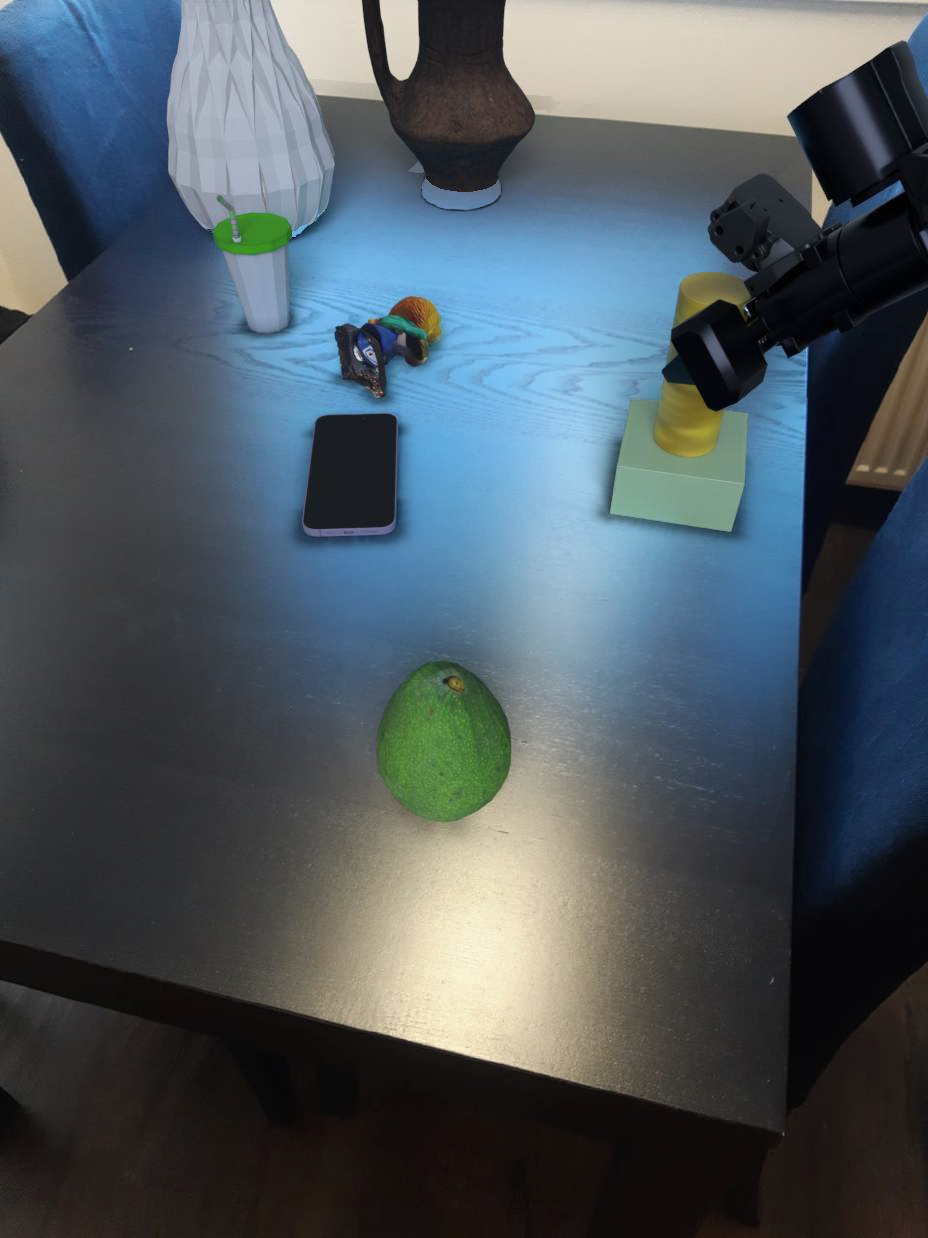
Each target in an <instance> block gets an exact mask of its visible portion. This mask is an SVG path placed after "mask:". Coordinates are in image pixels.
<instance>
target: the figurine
mask: <svg viewBox="0 0 928 1238" xmlns="http://www.w3.org/2000/svg"><path fill="white" fill-rule="evenodd" d="M441 322H442V318H441V314H440V313H439V311H438V310H437V307H436V305H435V304H434V303H433V302H432V301H431V300H429V299H427V298H425V297H423V296H413V295H412V296H411V295H410V296H406V297H404V298H402V299H400V300H399V301H397V303H395V305H394V306H392V307H391V309H390V310H389V313H388V315H386V316H382V317H377V318H374V317H373V318H372V317H371V318H368V321H367V322H365V323H364V324H362V325H361V327H357V326H356V325H353V324H351V323H344V324H341V325H337V326H335V327H334V329H335V331H334V333H333V334H334V340H335V342H336V347H337V355H338V356H339V364H340V371H341V375H342V376H343V378H342V381H344V380H348V381H349V380H350V381H355V382H357V383H358V384H359V385H360V386H362V387H364V388H365V389H367V390H369V391H370V392H372V394H373V396H374V397H375V398H376V399H381V398H384V397H385V396H386V392H385V387H386V385H387V374H386V373H387V372H386V366H388V365H390V364H391V362H392V360H394V358H395V357H396V356H397V357H398V356H399V357H400V356H403V358H404V361H405V362H406V364H407V365H409V366H410V367H413V368H414V367H419V366H421V365H424V364H425V363H426V362H427V361H428V359H429V350H430V349H429V347H432V346H433V344H437V343H438V342H439V341H440V340H441V339H442V337H443V331H442V328H441Z"/></svg>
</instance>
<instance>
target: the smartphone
mask: <svg viewBox="0 0 928 1238" xmlns="http://www.w3.org/2000/svg"><path fill="white" fill-rule="evenodd" d="M313 424H314V425H313V431H312V440H311V447H310V456H309V462H308V471H307V480H306V486H305V487H306V488H305V494H304V501H303V502H304V503H303V511H302V516H301V517H302V518H301V523H302V530H303V532H304V533H305V534H306V535H308V536H310V537H314V538H315V537H324V538H325V537H352V536H357V537H358V536H382V535H388V534H390V533H392V532H393V531H394V530H395V529H396V527H397V515H398V513H397V512H398V511H397V509H398V469H399V467H398V463H399V461H398V460H399V419H398V417H397V416H396V415H395V414H393V413H389V412H378V413H376V412H374V413H341V414H340V413H338V414H337V413H336V414H324V415H320V416H319V417H317V418H316V419H315V421H314V423H313Z"/></svg>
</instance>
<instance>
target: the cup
mask: <svg viewBox="0 0 928 1238" xmlns="http://www.w3.org/2000/svg"><path fill="white" fill-rule="evenodd" d="M217 201H218V202H219V203H221V204H222V205H223V206H224V207H225V208H227V209H228V211H229V214H230V218H228V219H225V220H223V221H221V222H219V223H218V224H217V226H216V227H215V228H214V230H213V231H212V232H211V233H212V237H213V241H214V243H215V245H216V246H217V248H218V249H219V250H221V252H222V255H223V258H224V262H225V263H226V267H227V270H228V273H229V275H230V278H231V282H232V284H233V287H234V289H235V293H236V295H237V298H238V301H239V303H240V307H241V310H242V313H243V315H245V316H244V319H245V322H246V324H247V326H248V329H249V330H250V331H252V332H254V333H257V334H263V335H264V334H266V335H270V334H274V333H278V332H282V331H283V330H285V329H286V328H288V327H289V325H290V323H291V287H290V284H291V283H290V241H291V240H290V238H291V237H292V229H291V225H290V224H289V222H288V221H287V219H286V218H284V217H281V216H278V215H275V214H272V213H247V214H241V215H235V210H234V208H233V206H232V205H231V204H230V203H228V202H227V201H226V200H225V199H224V198H223V197H222V196H220V195H218V196H217ZM289 240H290V241H289ZM289 312H290V314H289ZM288 315H289V316H288ZM245 317H246V318H245ZM287 317H288V318H287ZM247 321H248V322H247ZM258 325H259V326H258Z"/></svg>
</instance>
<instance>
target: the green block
mask: <svg viewBox="0 0 928 1238" xmlns="http://www.w3.org/2000/svg"><path fill="white" fill-rule="evenodd" d="M658 404H659V400H658V401H657V400H651V399H643V398H642V399H641V398H634V397H631V398H630V402H629V406H628V409H627V417H626V420H625V425H624V430H623V435H622V440H621V444H620V449H619V453H618V458H617V463H616V469H615V475H614V483H613V488H612V496H611V503H610V509H609V514H610V515H616V516H622V517H627V518H628V517H629V518H636V519H642V520H648V521H654V522H662V523H669V524H674V525H682V526H689V527H695V528H701V529H708V530H715V531H722V532H727V533H731V532H732V531H733V527H734V524H735V520H736V517H737V513H738V510H739V507H740V503H741V499H742V495H743V493H744V489H745V485H746V470H747V469H746V468H747V447H748V428H749V427H748V426H749V413H748V412H743V411H737V410H736V411H735V410H727V409H725V412H724V416H723V420H722V424H721V429H720V433H719V437H718V441H717V445H716V447H715V448H714V449H713V450H712V451H711V452H710V453H708V454H706V455H703V456H698V457H682V456H677V455H673V454H670V453H668V452H666V451H664V450H663V449H661V448H660V447H659V446H658V445H657V444H656V442H655V441H654V437H653V433H654V427H655V421H656V416H657V410H658Z"/></svg>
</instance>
